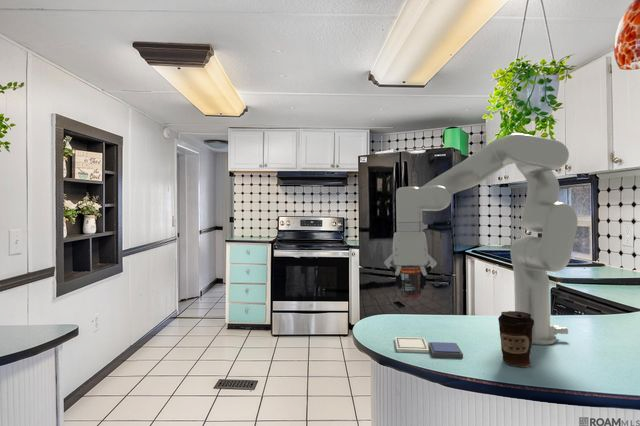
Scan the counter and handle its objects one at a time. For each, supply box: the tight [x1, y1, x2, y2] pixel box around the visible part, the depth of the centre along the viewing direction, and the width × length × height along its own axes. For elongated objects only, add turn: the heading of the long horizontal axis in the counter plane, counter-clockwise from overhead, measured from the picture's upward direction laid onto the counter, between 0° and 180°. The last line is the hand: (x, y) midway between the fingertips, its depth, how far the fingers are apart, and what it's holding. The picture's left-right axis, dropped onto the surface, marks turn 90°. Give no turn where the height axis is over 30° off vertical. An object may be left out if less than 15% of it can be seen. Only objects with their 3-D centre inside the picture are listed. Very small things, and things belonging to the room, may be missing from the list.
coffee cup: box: [497, 310, 534, 368], centre depth 95 cm, size 9×8×13 cm
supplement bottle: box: [400, 265, 422, 299], centre depth 109 cm, size 6×6×11 cm
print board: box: [394, 336, 430, 354], centre depth 109 cm, size 9×10×1 cm
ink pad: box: [427, 341, 464, 359], centre depth 104 cm, size 8×8×2 cm
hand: (410, 287), depth 109 cm, fingers closed on supplement bottle, 6 cm apart
